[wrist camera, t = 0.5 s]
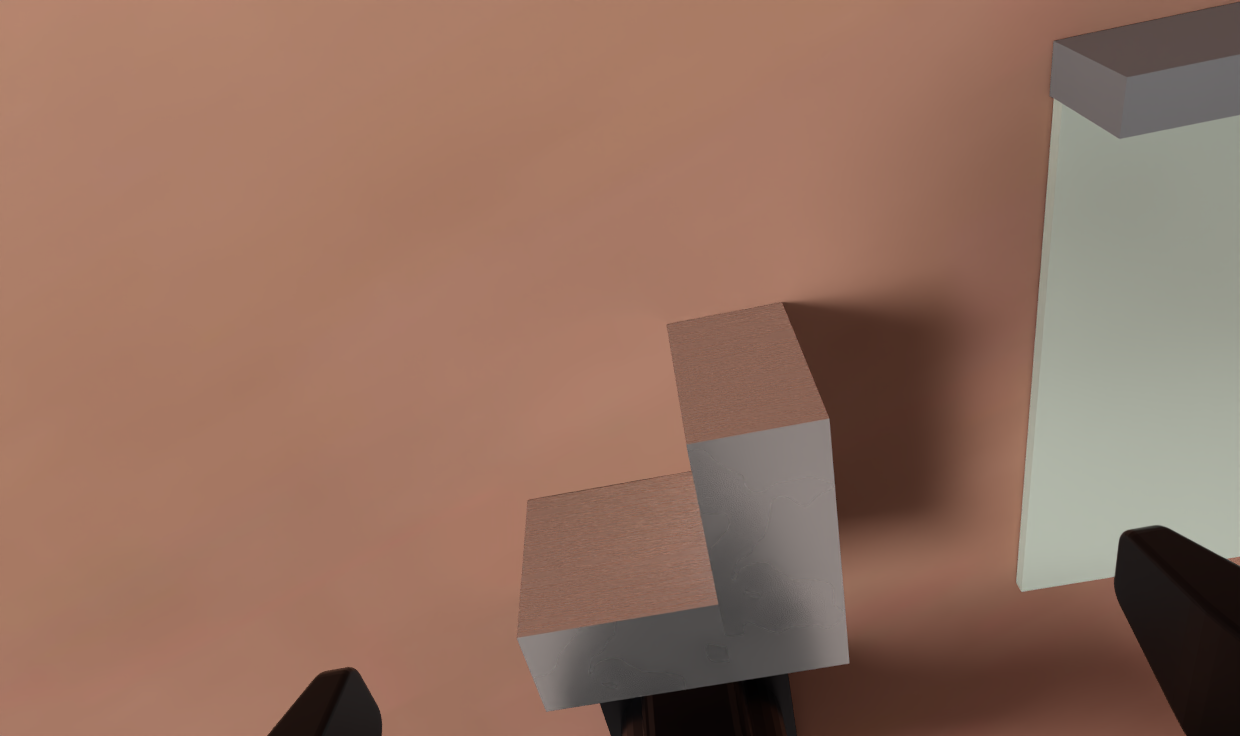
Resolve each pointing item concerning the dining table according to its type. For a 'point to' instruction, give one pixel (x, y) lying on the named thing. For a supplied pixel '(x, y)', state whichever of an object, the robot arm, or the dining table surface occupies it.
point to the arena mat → (1134, 348)
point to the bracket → (697, 537)
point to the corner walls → (1153, 72)
